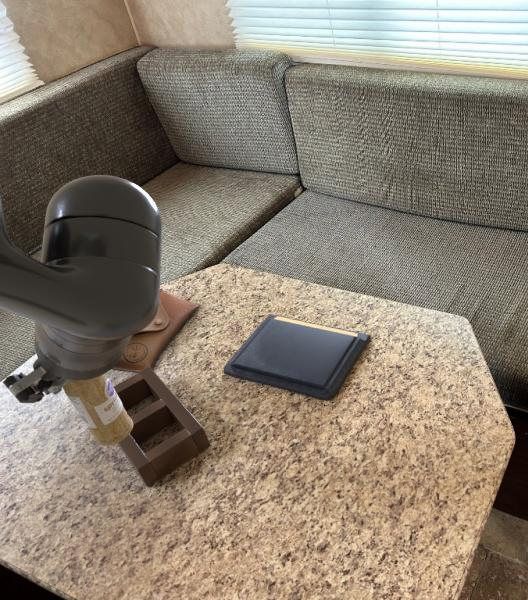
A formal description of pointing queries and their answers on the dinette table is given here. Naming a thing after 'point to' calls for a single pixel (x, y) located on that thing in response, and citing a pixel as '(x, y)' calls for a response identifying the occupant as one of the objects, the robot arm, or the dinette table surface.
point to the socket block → (158, 427)
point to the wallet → (298, 356)
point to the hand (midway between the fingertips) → (73, 371)
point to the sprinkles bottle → (100, 409)
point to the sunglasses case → (156, 333)
